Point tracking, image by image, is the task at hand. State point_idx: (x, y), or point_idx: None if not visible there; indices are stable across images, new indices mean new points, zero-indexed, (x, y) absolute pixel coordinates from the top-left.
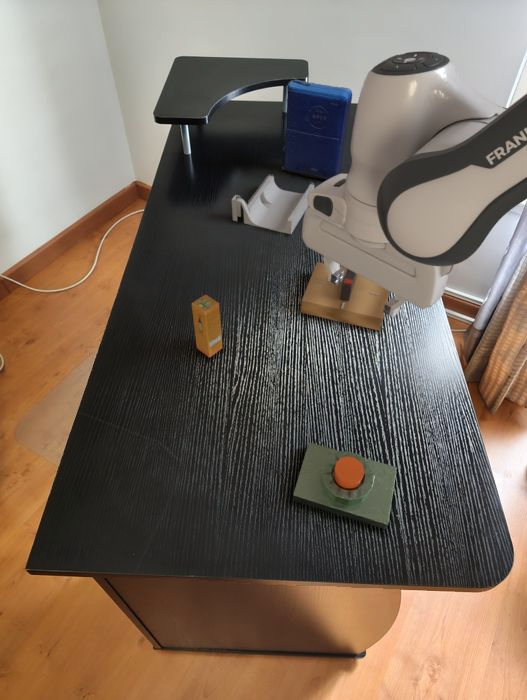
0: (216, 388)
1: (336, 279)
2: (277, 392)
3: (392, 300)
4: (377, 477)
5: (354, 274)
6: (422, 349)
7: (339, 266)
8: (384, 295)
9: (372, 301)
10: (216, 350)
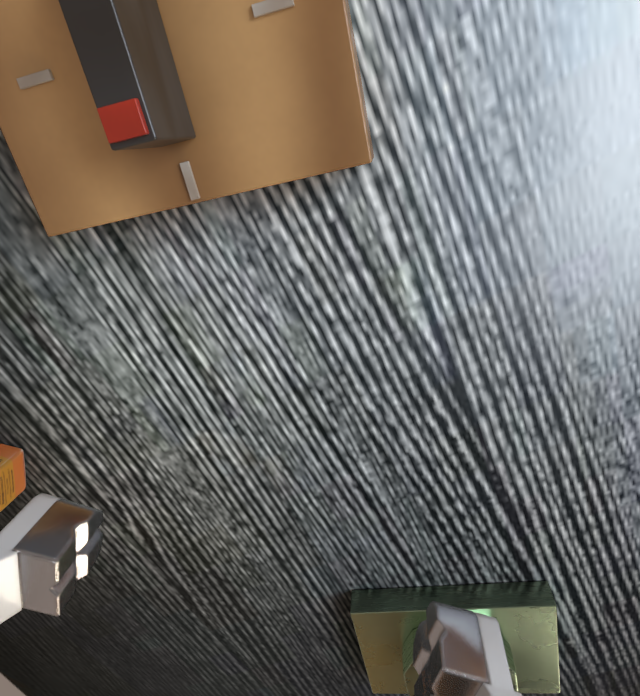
0: (103, 541)
1: (71, 594)
2: (219, 505)
3: (450, 688)
4: (518, 634)
5: (115, 27)
6: (560, 166)
7: (2, 562)
8: None
9: (286, 71)
10: (19, 473)
